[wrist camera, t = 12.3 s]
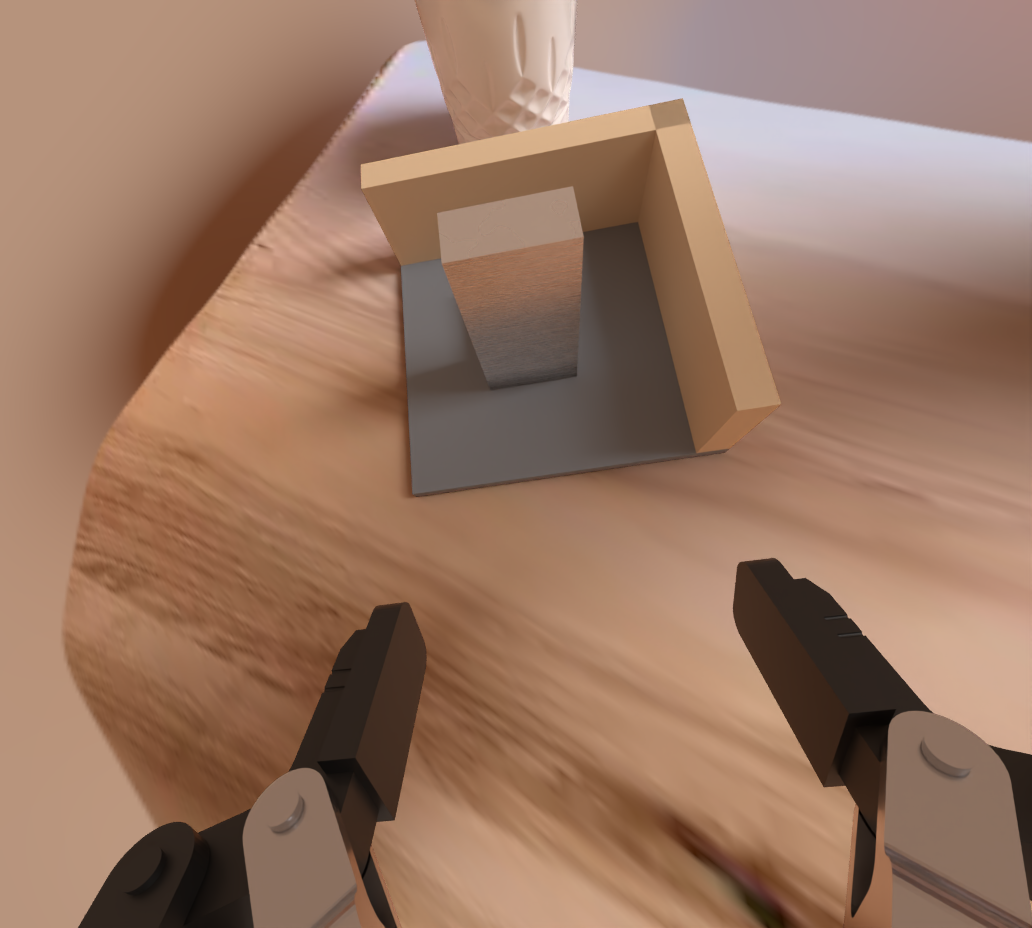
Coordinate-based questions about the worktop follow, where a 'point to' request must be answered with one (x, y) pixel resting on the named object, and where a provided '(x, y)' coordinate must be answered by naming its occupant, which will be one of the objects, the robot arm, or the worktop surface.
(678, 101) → the corner tray
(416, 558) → the worktop surface
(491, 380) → the bracket
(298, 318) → the worktop surface
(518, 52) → the white cup
